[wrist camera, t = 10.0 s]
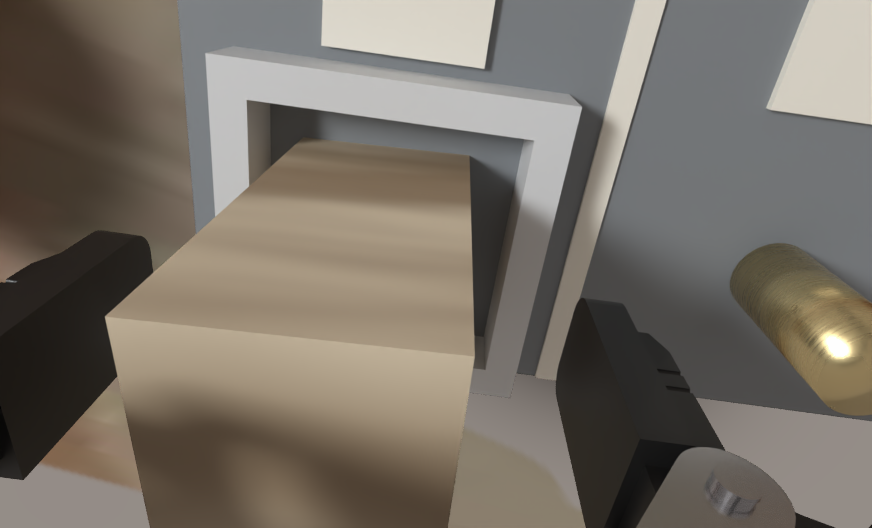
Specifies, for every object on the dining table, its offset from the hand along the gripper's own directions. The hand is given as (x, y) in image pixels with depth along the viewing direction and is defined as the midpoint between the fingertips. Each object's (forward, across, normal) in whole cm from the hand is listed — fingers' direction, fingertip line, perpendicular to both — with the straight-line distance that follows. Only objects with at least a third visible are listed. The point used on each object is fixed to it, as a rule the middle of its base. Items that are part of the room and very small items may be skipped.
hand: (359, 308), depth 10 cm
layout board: (+5, -5, -2) cm, 8 cm away
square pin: (+4, 0, 0) cm, 4 cm away
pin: (+4, -10, 0) cm, 11 cm away
